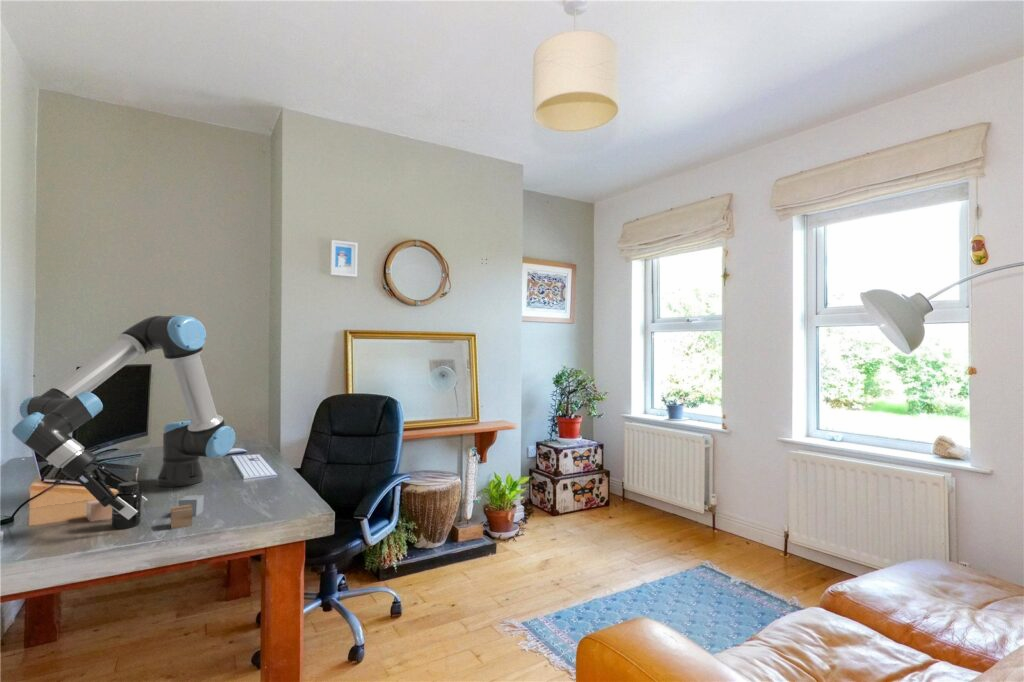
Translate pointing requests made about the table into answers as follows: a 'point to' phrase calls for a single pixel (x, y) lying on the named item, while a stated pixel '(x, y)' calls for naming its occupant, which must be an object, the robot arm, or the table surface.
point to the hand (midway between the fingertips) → (138, 509)
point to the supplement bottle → (134, 499)
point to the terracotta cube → (98, 511)
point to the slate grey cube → (193, 503)
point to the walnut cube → (181, 516)
